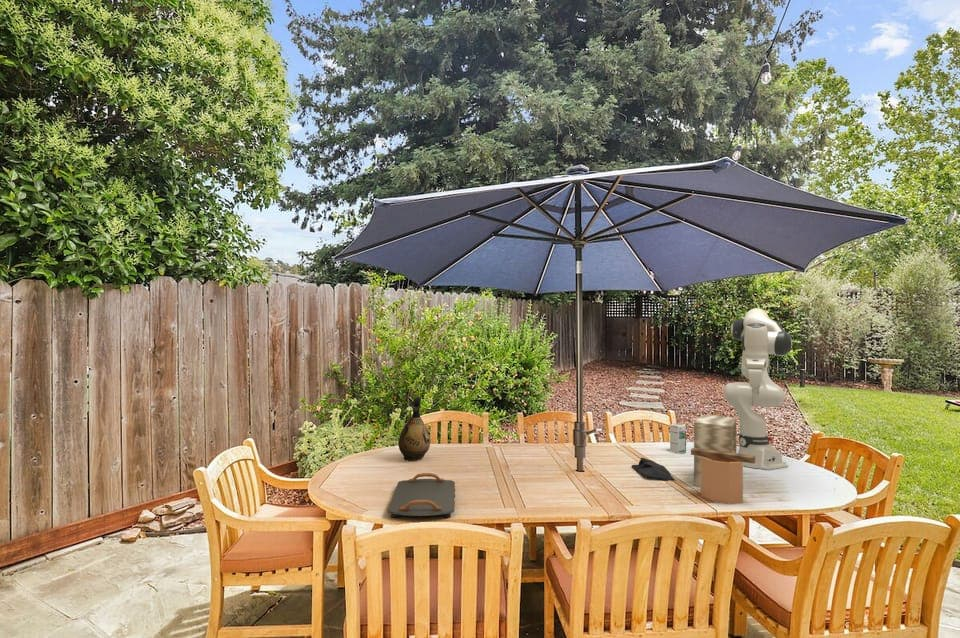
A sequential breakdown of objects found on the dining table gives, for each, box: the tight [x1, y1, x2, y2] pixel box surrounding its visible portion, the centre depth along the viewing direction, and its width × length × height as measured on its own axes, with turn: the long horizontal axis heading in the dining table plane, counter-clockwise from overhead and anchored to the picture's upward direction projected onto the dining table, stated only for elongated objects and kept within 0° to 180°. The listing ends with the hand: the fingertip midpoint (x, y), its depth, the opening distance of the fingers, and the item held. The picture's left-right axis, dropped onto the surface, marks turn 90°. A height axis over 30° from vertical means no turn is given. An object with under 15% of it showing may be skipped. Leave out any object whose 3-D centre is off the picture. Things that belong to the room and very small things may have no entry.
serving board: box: [386, 472, 456, 520], centre depth 182 cm, size 39×23×6 cm, turn 3°
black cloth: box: [631, 457, 676, 481], centre depth 221 cm, size 15×22×5 cm
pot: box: [700, 456, 744, 505], centre depth 190 cm, size 14×14×15 cm
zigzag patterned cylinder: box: [693, 414, 738, 487], centre depth 209 cm, size 14×22×26 cm, turn 148°
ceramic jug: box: [398, 395, 431, 462], centre depth 242 cm, size 17×15×30 cm
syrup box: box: [669, 423, 687, 455], centre depth 258 cm, size 6×6×14 cm
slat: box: [690, 447, 755, 464], centre depth 190 cm, size 22×4×2 cm, turn 58°
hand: (756, 396), depth 204 cm, fingers open, 8 cm apart
